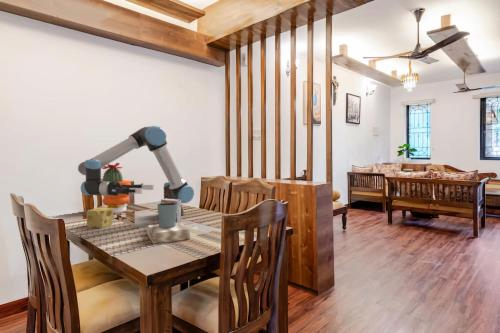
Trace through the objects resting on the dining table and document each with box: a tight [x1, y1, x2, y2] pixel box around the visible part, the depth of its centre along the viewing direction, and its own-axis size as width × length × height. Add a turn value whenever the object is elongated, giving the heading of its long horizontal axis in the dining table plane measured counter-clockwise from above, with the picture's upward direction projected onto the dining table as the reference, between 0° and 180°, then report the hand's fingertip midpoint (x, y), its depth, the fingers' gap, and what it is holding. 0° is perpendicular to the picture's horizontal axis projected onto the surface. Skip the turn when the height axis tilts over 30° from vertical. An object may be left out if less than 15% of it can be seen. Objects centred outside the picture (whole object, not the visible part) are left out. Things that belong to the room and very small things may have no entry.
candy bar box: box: [160, 198, 182, 224], centre depth 181 cm, size 11×5×16 cm, turn 71°
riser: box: [146, 222, 191, 244], centre depth 162 cm, size 18×18×5 cm
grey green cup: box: [157, 202, 177, 228], centre depth 164 cm, size 10×10×12 cm
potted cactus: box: [98, 162, 132, 214], centre depth 227 cm, size 22×22×35 cm
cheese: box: [86, 207, 114, 229], centre depth 183 cm, size 10×11×10 cm
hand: (147, 189), depth 165 cm, fingers open, 13 cm apart
